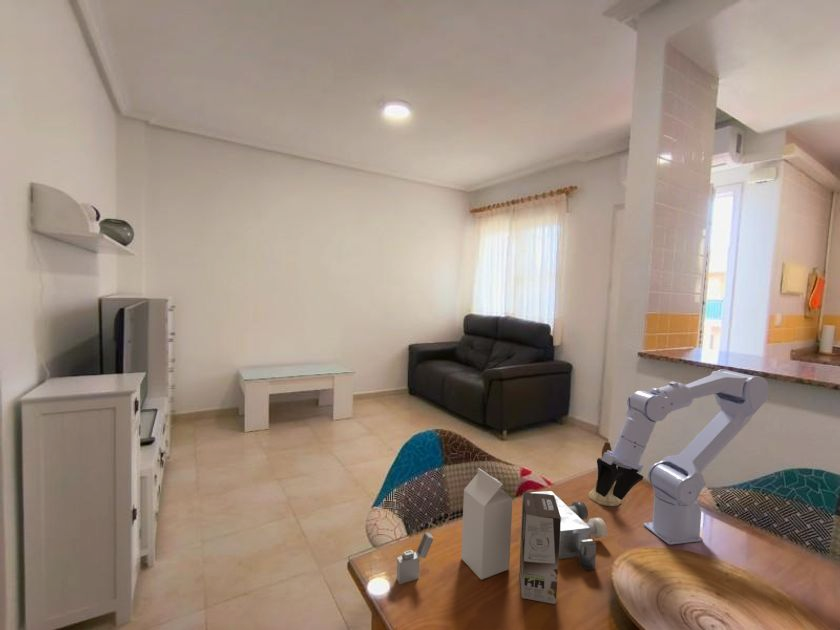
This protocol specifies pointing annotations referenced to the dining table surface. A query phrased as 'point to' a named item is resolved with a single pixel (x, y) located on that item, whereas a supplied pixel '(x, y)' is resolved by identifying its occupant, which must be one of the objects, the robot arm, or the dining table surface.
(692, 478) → the robot arm
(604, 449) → the hand bell
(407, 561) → the lighter
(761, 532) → the dining table surface
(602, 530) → the knob cream
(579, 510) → the knob black
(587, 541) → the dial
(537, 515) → the coffee box
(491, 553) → the milk carton
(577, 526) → the mount
